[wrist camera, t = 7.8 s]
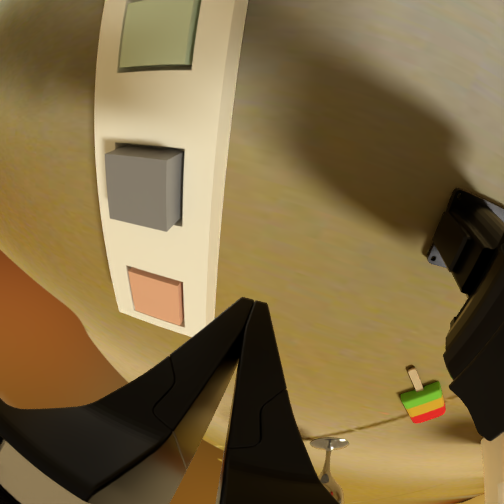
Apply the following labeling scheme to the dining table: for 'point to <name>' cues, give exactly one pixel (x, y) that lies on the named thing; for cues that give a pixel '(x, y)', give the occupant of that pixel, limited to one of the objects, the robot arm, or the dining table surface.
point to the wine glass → (326, 475)
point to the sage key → (159, 33)
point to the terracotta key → (157, 295)
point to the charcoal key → (145, 186)
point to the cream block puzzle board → (174, 138)
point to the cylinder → (493, 469)
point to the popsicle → (423, 400)
